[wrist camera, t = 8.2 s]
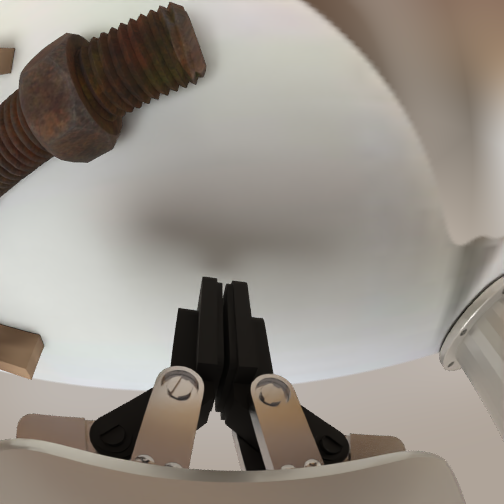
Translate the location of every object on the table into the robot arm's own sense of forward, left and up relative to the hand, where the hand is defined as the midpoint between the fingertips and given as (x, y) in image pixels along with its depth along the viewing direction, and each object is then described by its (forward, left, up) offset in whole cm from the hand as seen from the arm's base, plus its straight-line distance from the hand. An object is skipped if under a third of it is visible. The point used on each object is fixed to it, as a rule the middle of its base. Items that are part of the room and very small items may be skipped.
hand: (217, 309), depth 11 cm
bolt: (+9, -5, -4) cm, 11 cm away
